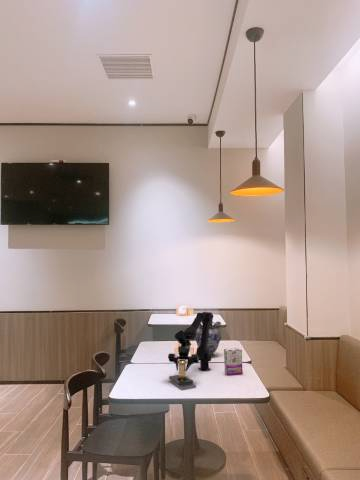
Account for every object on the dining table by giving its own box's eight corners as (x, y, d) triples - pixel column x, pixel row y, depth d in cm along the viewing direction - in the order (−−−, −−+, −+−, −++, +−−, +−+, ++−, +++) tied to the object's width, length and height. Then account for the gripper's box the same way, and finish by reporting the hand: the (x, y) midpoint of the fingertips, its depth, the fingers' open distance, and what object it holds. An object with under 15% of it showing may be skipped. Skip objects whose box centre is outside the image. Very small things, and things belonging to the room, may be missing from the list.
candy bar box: (240, 372, 241) (239, 347, 242) (242, 374, 236) (242, 349, 237) (224, 373, 239) (223, 348, 240) (226, 375, 234) (226, 350, 235)
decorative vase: (193, 358, 276) (193, 322, 279) (195, 353, 295) (195, 318, 297) (221, 359, 274) (220, 322, 276) (221, 354, 292) (221, 319, 294)
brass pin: (177, 383, 220) (176, 360, 221) (184, 382, 222) (183, 359, 223) (180, 386, 215) (180, 362, 216) (187, 384, 217) (187, 361, 218)
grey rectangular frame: (169, 381, 225) (169, 376, 225) (182, 378, 229) (182, 374, 229) (181, 390, 208) (181, 385, 208) (196, 387, 212) (196, 382, 212)
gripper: (168, 340, 226) (164, 363, 214) (197, 341, 222) (195, 364, 211) (171, 350, 233) (167, 372, 222) (199, 351, 229) (197, 374, 218)
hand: (181, 370), depth 218 cm, fingers open, 5 cm apart
